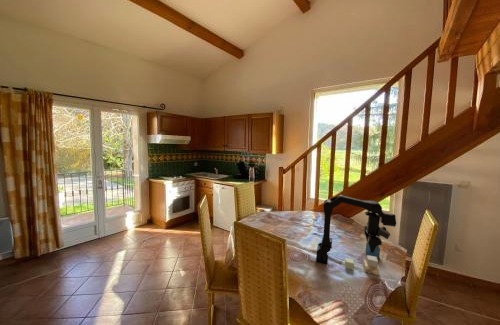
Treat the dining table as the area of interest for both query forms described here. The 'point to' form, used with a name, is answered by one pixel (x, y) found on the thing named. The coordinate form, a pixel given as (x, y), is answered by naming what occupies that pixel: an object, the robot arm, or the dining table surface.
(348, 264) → the sage cube
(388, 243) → the dining table surface
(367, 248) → the perfume bottle
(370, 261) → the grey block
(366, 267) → the beech slab
